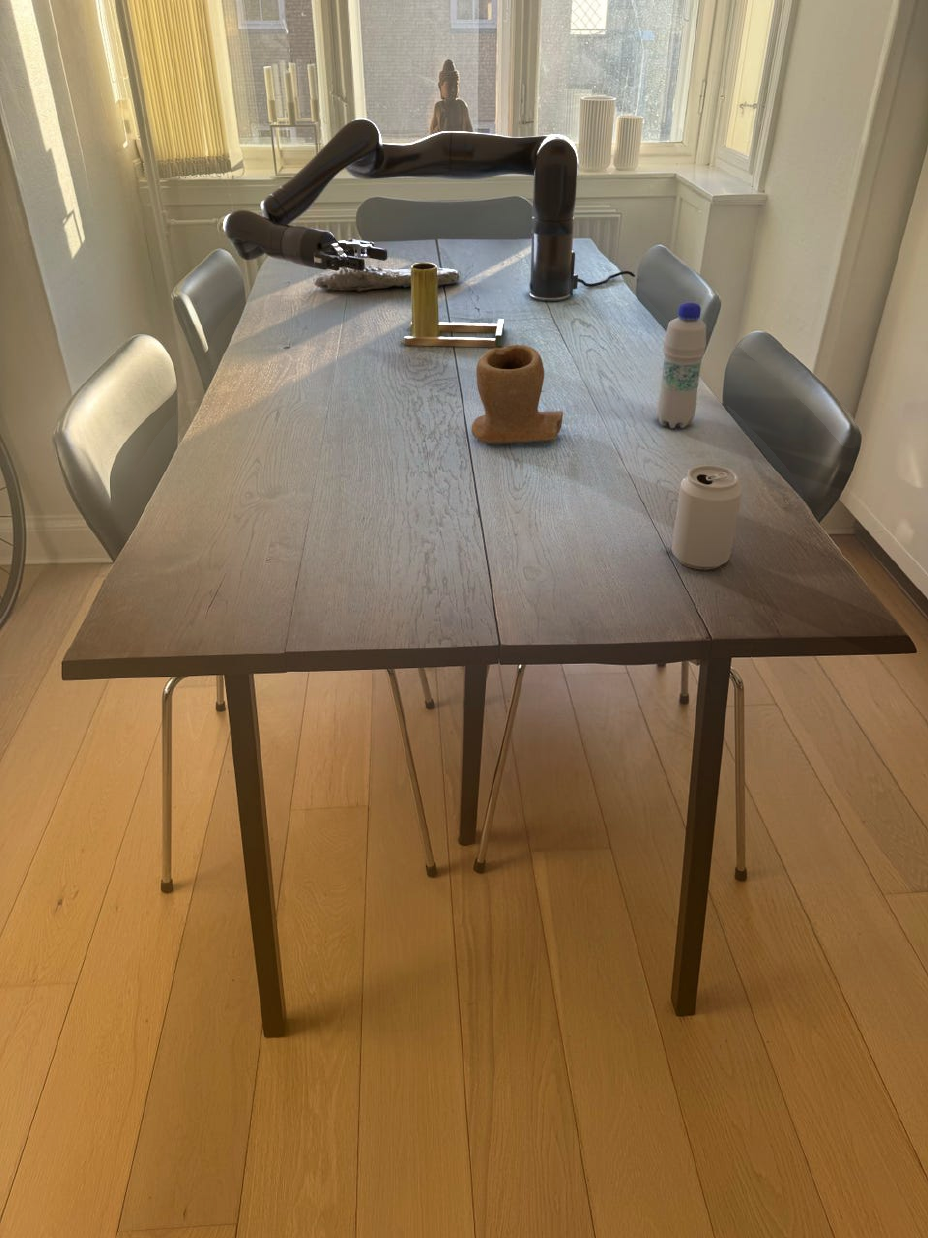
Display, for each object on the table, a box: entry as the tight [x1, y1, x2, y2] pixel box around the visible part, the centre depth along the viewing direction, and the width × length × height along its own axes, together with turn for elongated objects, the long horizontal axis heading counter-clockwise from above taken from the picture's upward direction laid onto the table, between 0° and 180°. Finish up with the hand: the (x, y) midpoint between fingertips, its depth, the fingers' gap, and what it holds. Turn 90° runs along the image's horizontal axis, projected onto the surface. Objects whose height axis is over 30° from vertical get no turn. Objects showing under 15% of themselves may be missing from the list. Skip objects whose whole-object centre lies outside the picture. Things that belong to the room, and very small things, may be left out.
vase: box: [410, 262, 441, 337], centre depth 192 cm, size 6×6×14 cm
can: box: [670, 464, 743, 571], centre depth 120 cm, size 8×8×12 cm
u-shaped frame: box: [403, 318, 505, 349], centre depth 195 cm, size 20×10×2 cm, turn 85°
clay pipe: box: [470, 344, 564, 445], centre depth 150 cm, size 15×12×15 cm
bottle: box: [656, 301, 707, 429], centre depth 154 cm, size 7×7×20 cm
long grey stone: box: [313, 265, 461, 292], centre depth 226 cm, size 35×5×10 cm
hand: (375, 259), depth 191 cm, fingers open, 8 cm apart
